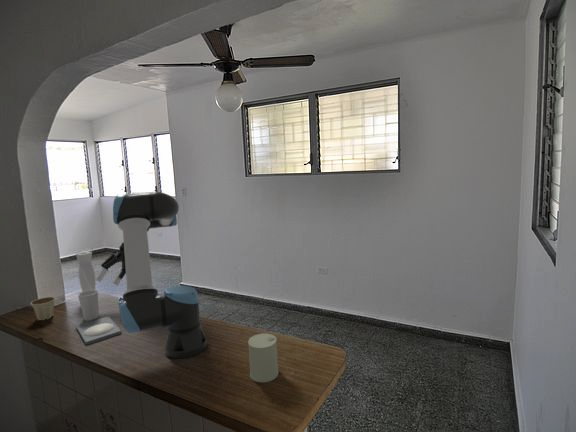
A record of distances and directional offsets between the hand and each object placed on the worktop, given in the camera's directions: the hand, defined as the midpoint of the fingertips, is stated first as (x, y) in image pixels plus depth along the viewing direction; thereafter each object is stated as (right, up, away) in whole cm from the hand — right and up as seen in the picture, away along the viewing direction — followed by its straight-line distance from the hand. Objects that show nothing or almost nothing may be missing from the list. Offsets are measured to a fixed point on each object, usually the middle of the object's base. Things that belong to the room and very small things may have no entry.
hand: (106, 282), depth 167 cm
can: (+81, -19, -56) cm, 100 cm away
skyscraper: (-17, -13, +17) cm, 27 cm away
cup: (-4, -15, -6) cm, 17 cm away
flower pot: (-26, -16, -5) cm, 31 cm away
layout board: (+7, -17, -20) cm, 27 cm away
